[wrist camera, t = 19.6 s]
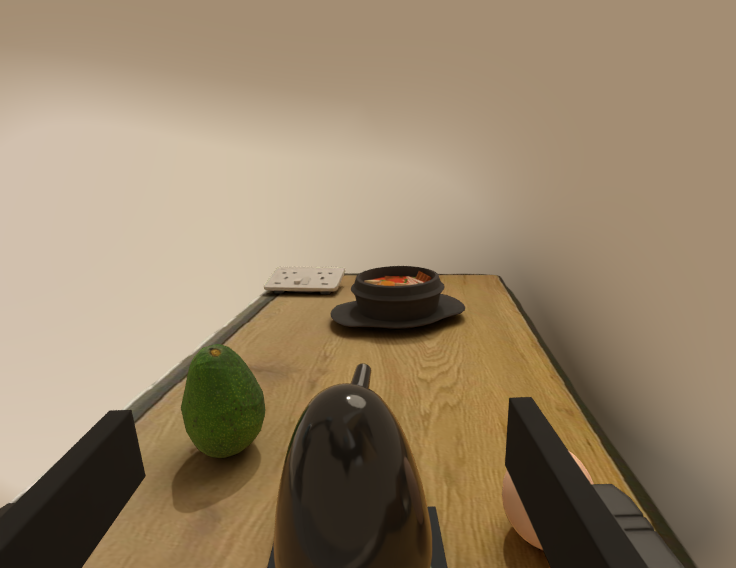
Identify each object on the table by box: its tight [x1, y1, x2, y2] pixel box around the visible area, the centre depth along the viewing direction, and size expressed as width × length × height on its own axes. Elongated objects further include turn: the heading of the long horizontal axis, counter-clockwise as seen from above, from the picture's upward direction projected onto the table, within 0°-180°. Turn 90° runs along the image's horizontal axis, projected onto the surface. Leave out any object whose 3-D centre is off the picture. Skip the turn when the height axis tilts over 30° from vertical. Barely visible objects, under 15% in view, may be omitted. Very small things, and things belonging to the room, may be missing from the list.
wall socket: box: [264, 267, 345, 294], centre depth 100 cm, size 18×15×4 cm
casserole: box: [331, 266, 465, 329], centre depth 79 cm, size 25×19×8 cm
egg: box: [502, 451, 593, 550], centre depth 32 cm, size 7×7×8 cm
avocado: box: [181, 344, 265, 458], centre depth 44 cm, size 8×8×12 cm
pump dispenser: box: [274, 364, 432, 568], centre depth 27 cm, size 10×10×15 cm
